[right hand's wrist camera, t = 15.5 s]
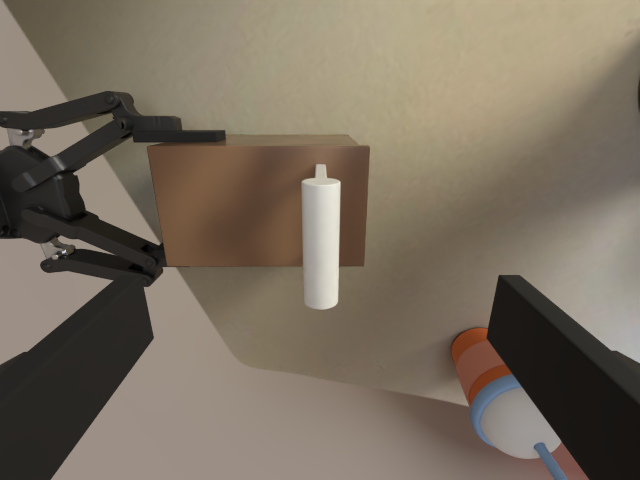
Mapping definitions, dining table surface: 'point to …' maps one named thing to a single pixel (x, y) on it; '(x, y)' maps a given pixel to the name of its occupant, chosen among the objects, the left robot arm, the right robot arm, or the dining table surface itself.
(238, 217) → the lid
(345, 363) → the dining table surface
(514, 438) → the cup with straw
